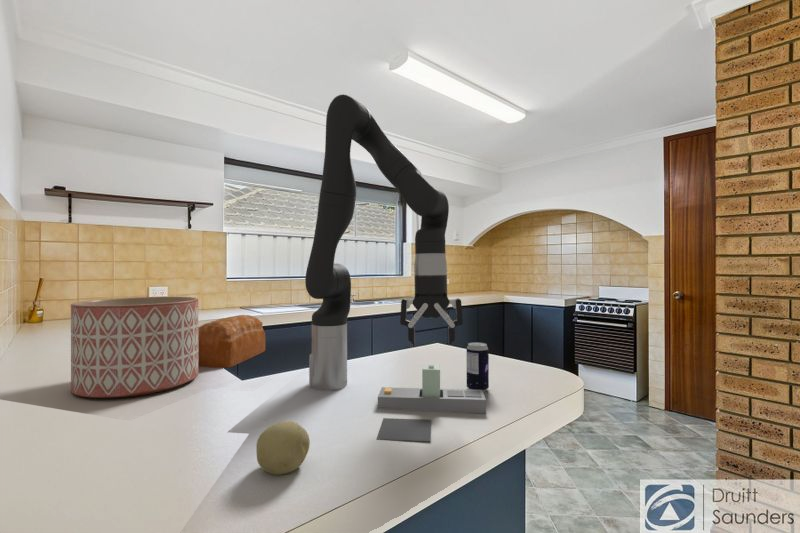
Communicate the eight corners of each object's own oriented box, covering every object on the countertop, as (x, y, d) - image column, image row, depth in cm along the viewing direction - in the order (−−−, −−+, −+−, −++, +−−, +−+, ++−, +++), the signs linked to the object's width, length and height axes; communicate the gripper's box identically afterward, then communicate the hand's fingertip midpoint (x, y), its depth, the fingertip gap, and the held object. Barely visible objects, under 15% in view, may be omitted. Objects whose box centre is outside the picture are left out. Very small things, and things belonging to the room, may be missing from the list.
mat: (376, 441, 72) (376, 439, 72) (383, 420, 82) (383, 418, 82) (430, 443, 71) (430, 441, 71) (431, 421, 81) (431, 419, 81)
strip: (377, 410, 88) (377, 394, 88) (381, 399, 95) (381, 384, 95) (485, 413, 86) (485, 397, 86) (482, 402, 93) (482, 387, 93)
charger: (422, 404, 88) (422, 368, 88) (422, 398, 92) (422, 364, 92) (440, 405, 88) (440, 369, 88) (439, 399, 92) (439, 364, 92)
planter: (41, 404, 92) (41, 304, 92) (145, 373, 118) (145, 295, 119) (131, 415, 85) (131, 307, 85) (220, 380, 111) (220, 297, 111)
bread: (268, 355, 143) (268, 312, 143) (228, 374, 117) (228, 322, 117) (233, 354, 145) (233, 312, 145) (186, 373, 119) (186, 322, 119)
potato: (304, 484, 58) (304, 431, 58) (250, 487, 57) (250, 432, 57) (312, 459, 65) (312, 412, 65) (264, 461, 65) (264, 413, 65)
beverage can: (488, 394, 99) (488, 346, 99) (466, 392, 100) (466, 345, 100) (488, 387, 104) (488, 342, 104) (466, 385, 105) (466, 341, 105)
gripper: (398, 274, 87) (399, 346, 87) (462, 273, 86) (464, 347, 86) (401, 273, 94) (402, 340, 94) (460, 273, 93) (461, 340, 93)
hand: (431, 343), depth 90 cm, fingers open, 8 cm apart
